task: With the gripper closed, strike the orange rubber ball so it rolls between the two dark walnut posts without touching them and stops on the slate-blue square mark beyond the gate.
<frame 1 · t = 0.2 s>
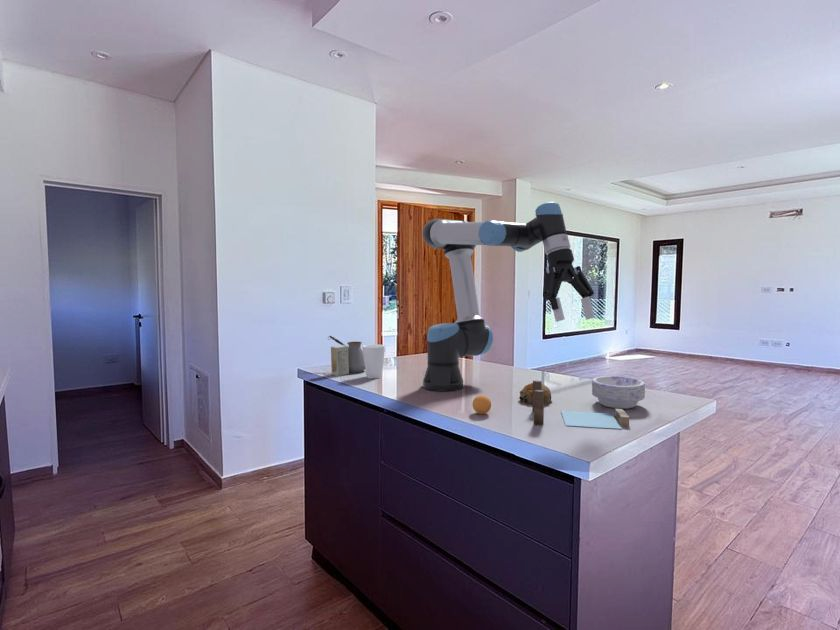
hand: (575, 319, 131), 28 cm above the table, tool tilted 20°, fingers open, 13 cm apart
skincare box: (340, 375, 190), on the table
bread roll: (535, 402, 146), on the table
foam cup: (374, 377, 185), on the table
ball: (481, 404, 131), on the table
grey stone bowl: (617, 405, 140), on the table
coffee pot: (346, 370, 200), on the table
post 1: (536, 410, 134), on the table
post 2: (538, 423, 122), on the table
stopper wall: (621, 421, 123), on the table
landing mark: (589, 419, 125), on the table
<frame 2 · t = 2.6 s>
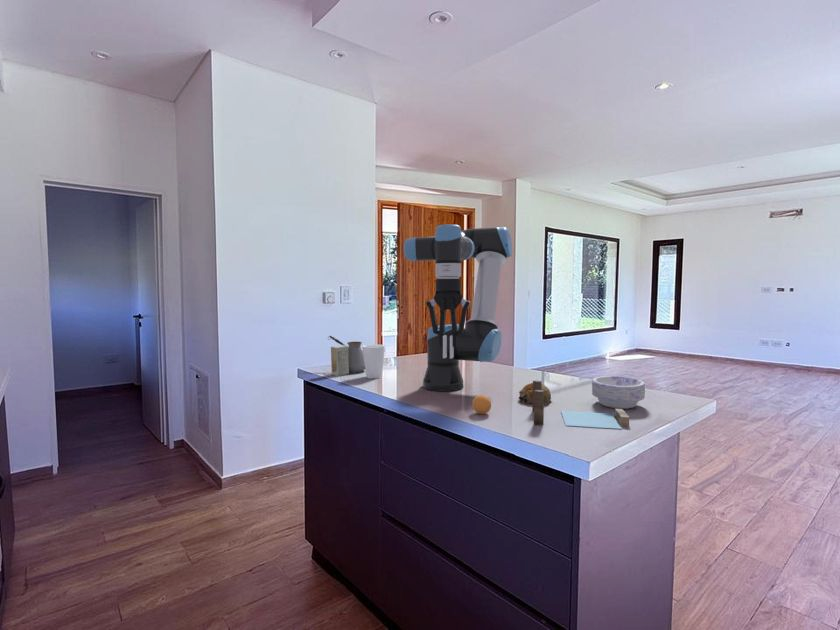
hand: (448, 357, 133), 16 cm above the table, tool pointing down, fingers closed
nothing on the table moved.
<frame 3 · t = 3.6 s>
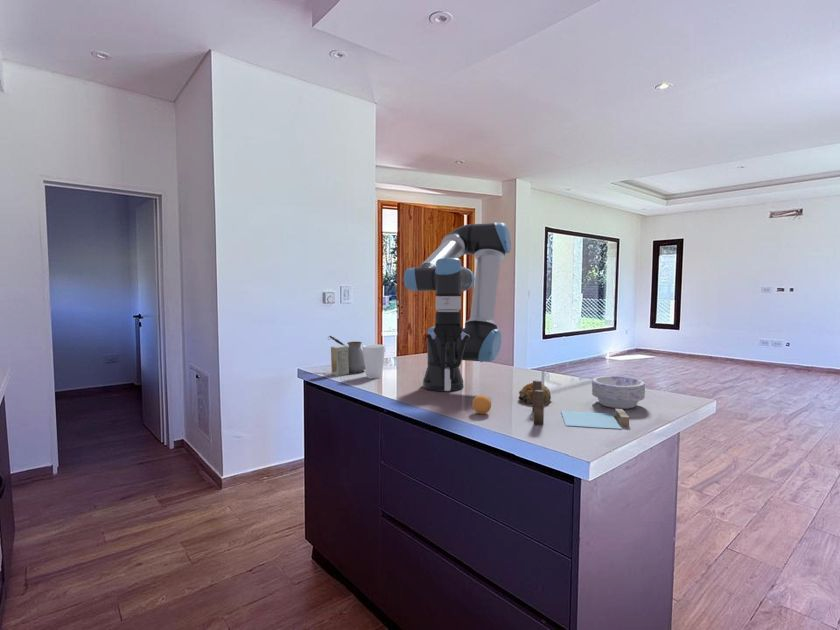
hand: (447, 389, 133), 7 cm above the table, tool pointing down, fingers closed
nothing on the table moved.
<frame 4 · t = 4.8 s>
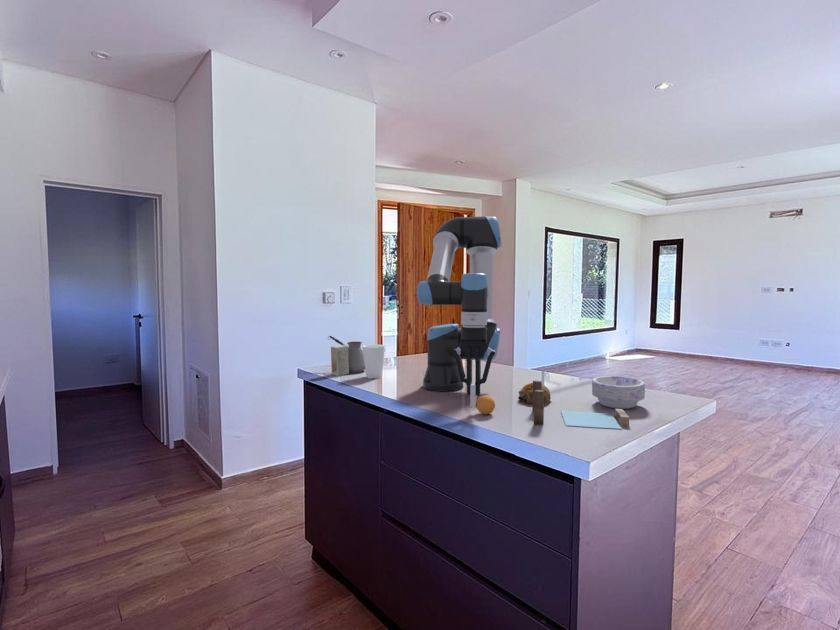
hand: (473, 406, 131), 2 cm above the table, tool pointing down, fingers closed
ball: (485, 404, 131), on the table, touching gripper
everything else where it was.
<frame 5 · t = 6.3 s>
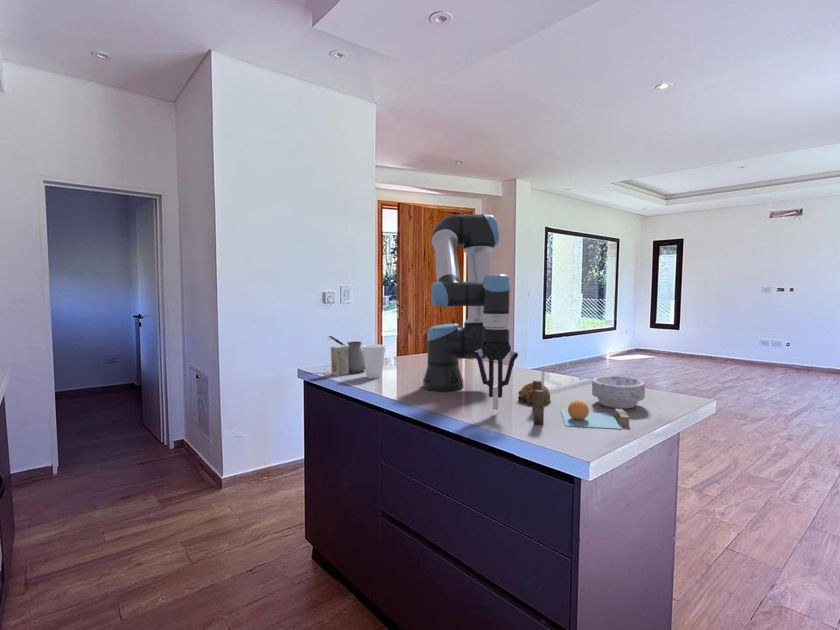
hand: (495, 408, 131), 2 cm above the table, tool pointing down, fingers closed
ball: (578, 410, 125), on the table
everything else where it was.
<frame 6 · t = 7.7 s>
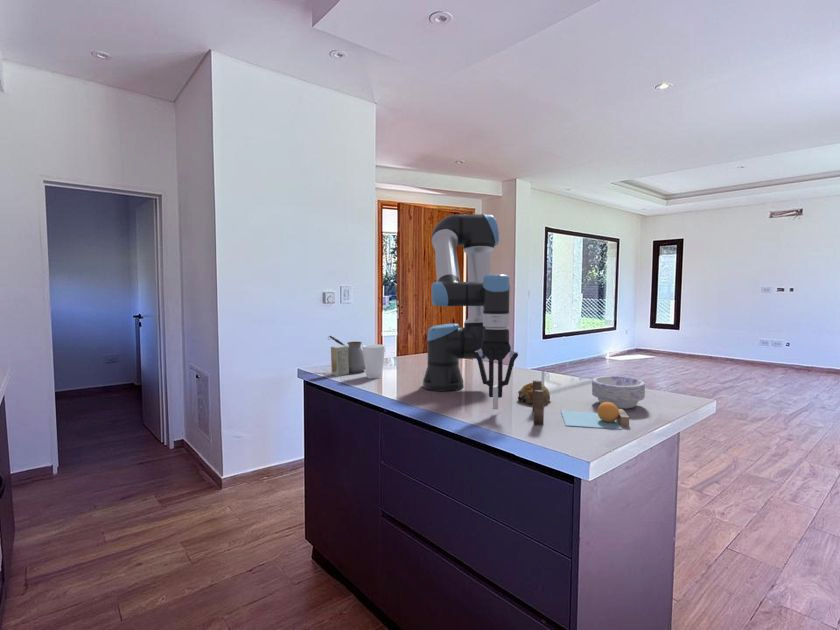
hand: (495, 408, 131), 2 cm above the table, tool pointing down, fingers closed
ball: (608, 412, 123), on the table
everything else where it was.
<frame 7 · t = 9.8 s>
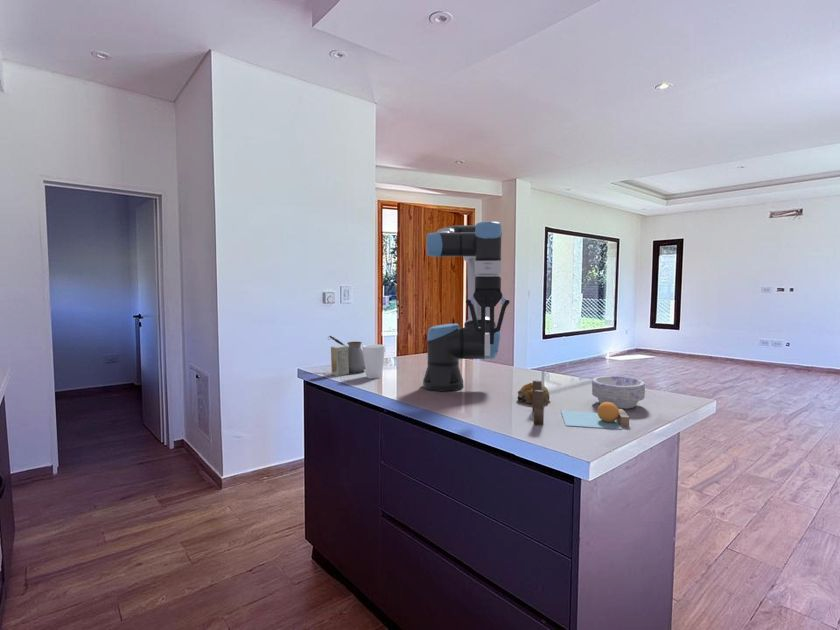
hand: (487, 354, 133), 17 cm above the table, tool pointing down, fingers closed
nothing on the table moved.
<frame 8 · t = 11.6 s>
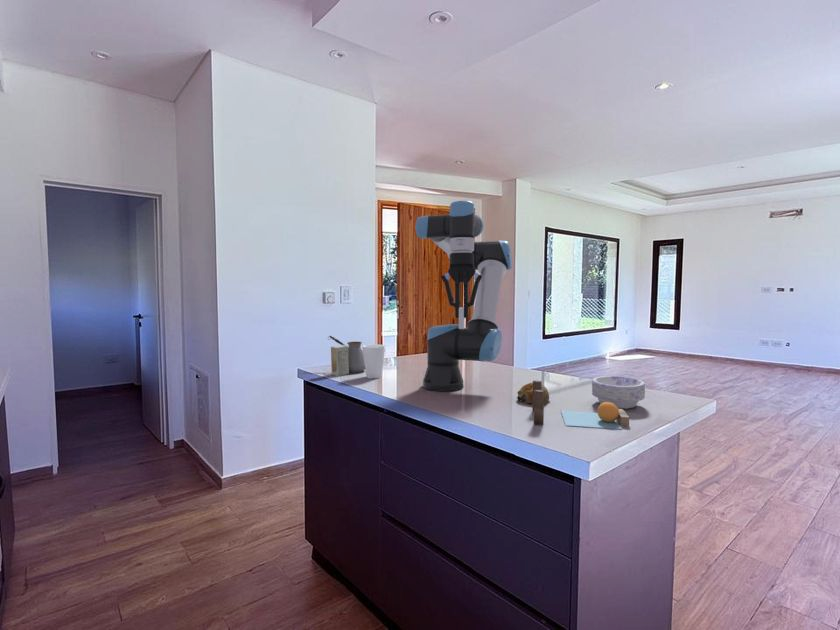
hand: (461, 328, 139), 24 cm above the table, tool pointing down, fingers closed
nothing on the table moved.
at the end: ball 4.8 cm from the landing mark (horizontally); ball never touched post 1; ball never touched post 2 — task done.
